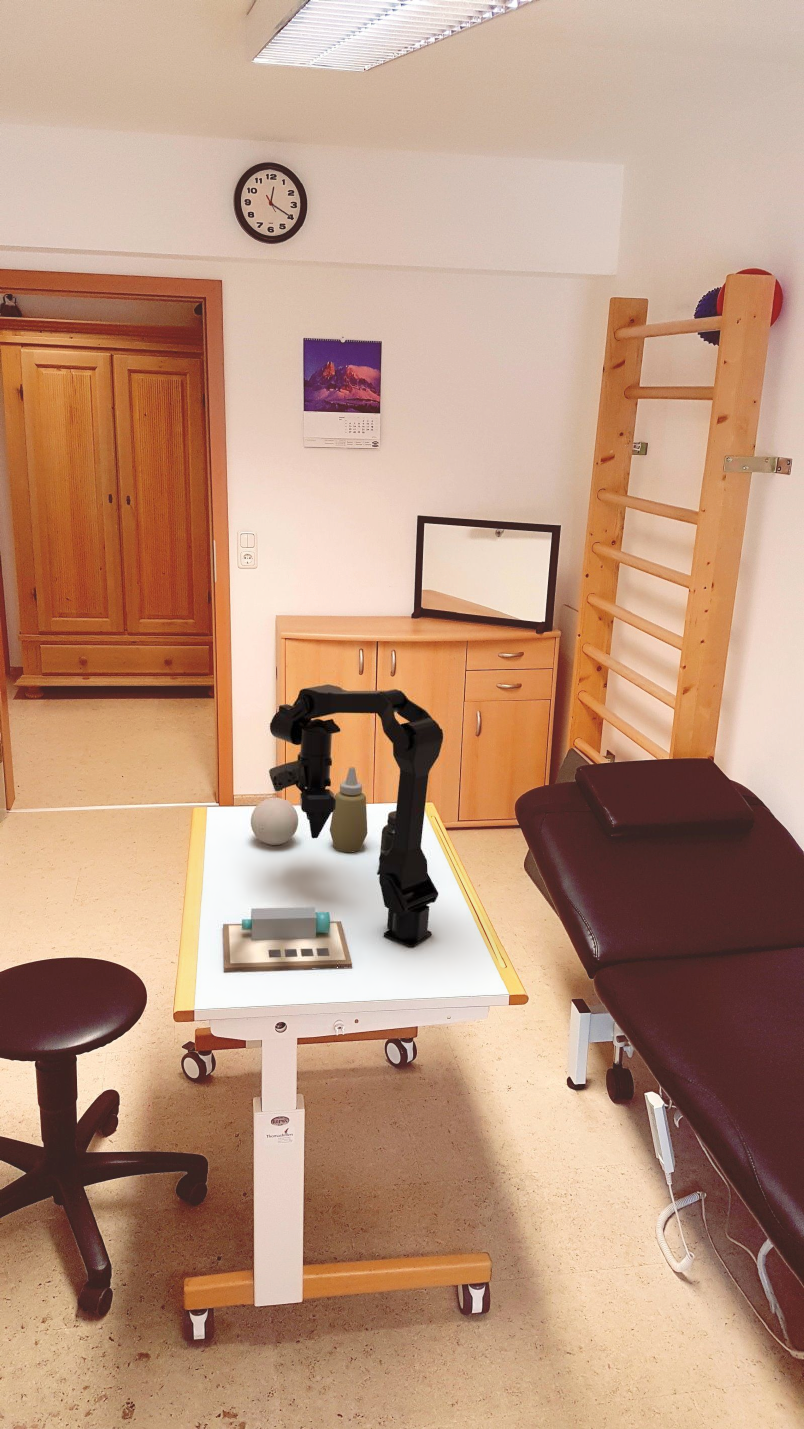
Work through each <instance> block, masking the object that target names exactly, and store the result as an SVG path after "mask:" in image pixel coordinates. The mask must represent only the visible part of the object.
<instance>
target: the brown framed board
mask: <svg viewBox="0 0 804 1429" xmlns="http://www.w3.org/2000/svg"><path fill="white" fill-rule="evenodd" d="M346 938H347V937H346V935H345V931H344V927H343V923H342V921H341V920H340V921H337V920H336V921H334V920H333V921H330V931H329V933H316V939H286V940H252V938H251V930H242V923H223V924H222V941H223V942H222V945H223V946H222V947H223V951H222V952H223V972H224V973H233V972H232V971H243V972H266V971H269V972H271V971H270V970H274V971H290V970H289V969H294V970H293V971H296V970H295V969H304V970H313V969H312V968H335V969H345V968H344V967H348V968H347V969H352V968H353V962H352V958H351V954H350V950H349V947H348V943H347V939H346ZM337 967H338V968H337ZM349 967H351V968H349ZM283 969H284V970H283Z"/></svg>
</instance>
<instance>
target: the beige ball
mask: <svg viewBox="0 0 804 1429" xmlns="http://www.w3.org/2000/svg"><path fill="white" fill-rule="evenodd" d="M250 826H251V831H252V832H253V834H254V836H255V837H256V838H257V839H258V840H259V841H260V842H262V843H265V844H266V845H271V846H278V845H281V844H284V843H286V842H288V841H290V840H291V839H292V838H293V837H294V835H295V834H296V832H297V830H298V826H299V817H298V813H297V810H296V808H295V806H293V804H292V803H291V802H289V801H288V800H286V799H284V798H281V797H269V798H266V799H264V800H261V801H260V802H259V803H258V804H257V805H256V806H255V807H254V809H253V811H252V813H251V817H250Z"/></svg>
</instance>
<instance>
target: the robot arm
mask: <svg viewBox="0 0 804 1429" xmlns="http://www.w3.org/2000/svg"><path fill="white" fill-rule="evenodd" d="M395 713H396V714H397V715H399V716H400V717H401V718H403V719H404V720H406V721H407V722H404V723H400V722H399V721H398V720H397V718H396V715H395ZM336 714H377V716H379V718H380V721H381V727H382V732H383V733H384V735H385V736H386V737H387V738H388V739H389V741H390V742H391V743H392V754H393V757H394V760H395V763H396V764H397V767H398V768H399V779H398V788H397V800H396V807H395V808H396V810H395V811H396V817H395V828H394V838H393V845H392V848H391V849H390V850H388V851H386V852H383V853H381V854H380V853H379V857H378V864H379V866H378V871H377V872H376V875H378V876H379V877H378V882H379V886H380V889H381V895H382V900H383V905H384V907H385V908H387V909H388V910H387V923H386V925H387V926H386V929H387V930H386V931H385V932H383V937H384V938H387V939H389V940H392V941H395V942H397V943H399V944H402V945H405V946H407V947H408V948H414V947H416V946H417V945H419V944H421V943H423V941H425V940H427V939H428V938H430V937H431V936H432V935H433V932H432V931H430V930H429V929H428V926H429V916H430V906H429V905H430V904H432V903H433V904H434V903H436V901H437V899H438V897H439V892H438V890H437V888H436V886H435V884H434V882H433V881H432V878H431V877H430V875H429V873H428V860H427V857H426V855H425V853H424V851H423V850H422V840H423V838H422V837H423V830H424V822H425V810H426V802H427V801H426V800H427V794H428V793H427V791H428V784H429V783H428V782H429V776H430V775H429V774H430V771H431V769H432V768H433V766H434V764H435V763H436V761H437V759H439V756H440V752H441V749H442V747H443V746H442V745H443V741H444V732H443V729H442V728H441V727H440V725H439V723H438V722H437V721H436V720H435V719H434V718H433V717H432V716H431V715H430V714H429V712H428V711H427V710H426V709H425V708H423V707H422V706H419V705H418V704H417V703H415V702H414V701H412V700H410V698H408V697H407V695H406V694H405V693H404V692H403V691H402V690H399V689H396V688H395V689H389V690H345V689H343V688H342V687H340V686H337V685H333V684H324V685H323V684H322V685H317V686H309V687H304V688H302V689H300V690H299V693H298V696H297V698H296V700H295V701H294V702H293V704H292V705H291V704H288V703H287V704H281V705H279V706H278V711H277V712H276V713H275V714H274V715H273V717H272V719H271V722H270V723H269V731H270V733H271V734H272V736H273V737H274V738H276V739H279V740H282V741H285V742H287V743H290V744H293V745H295V746H299V745H300V751H299V752H298V754H297V758H296V759H297V760H294V761H290V762H286V763H284V764H281V765H278V766H277V765H276V766H275V767H272V768H270V769H268V770H269V771H268V772H269V773H268V774H269V778H270V781H271V783H272V785H273V789H274V791H275V792H281V791H283V790H284V789H287V788H289V787H293V786H295V787H296V788H298V790H299V791H300V795H299V803H300V804H299V805H300V810H301V811H302V812H303V813H305V814H306V819H307V821H308V822H309V831H310V837H311V839H318V838H319V836H320V834H321V832H322V830H323V828H324V827H325V825H326V823H327V821H328V819H329V818H330V816H331V815H332V813H333V811H334V810H335V806H336V799H335V794H334V792H333V791H332V790H331V789H329V788H327V787H332V786H331V785H332V781H331V767H332V765H333V760H332V759H333V758H332V757H331V755H332V742H333V741H332V739H333V738H332V737H333V734H337V733H341V728H340V727H339V725H338V724H336V722H335V721H334V719H332V718H331V719H327V720H326V719H321V717H327V716H331V715H336Z"/></svg>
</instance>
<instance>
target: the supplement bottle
mask: <svg viewBox="0 0 804 1429" xmlns="http://www.w3.org/2000/svg"><path fill="white" fill-rule="evenodd" d="M395 817H396V810H394V811H390V812H389V813H388V814H387V822H386V823H387V824H385V825H384V826H383V828H382V829H381V837H380V849H379V850H380V851H379V855H380V854H381V853H383V852H386V851H388V850H390V849H391V848H392V845H393V838H394V828H395Z"/></svg>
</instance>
